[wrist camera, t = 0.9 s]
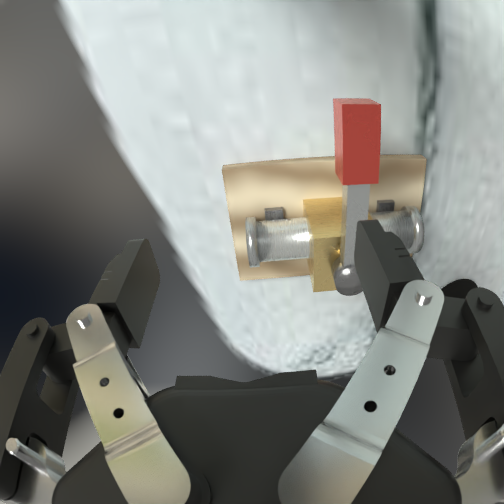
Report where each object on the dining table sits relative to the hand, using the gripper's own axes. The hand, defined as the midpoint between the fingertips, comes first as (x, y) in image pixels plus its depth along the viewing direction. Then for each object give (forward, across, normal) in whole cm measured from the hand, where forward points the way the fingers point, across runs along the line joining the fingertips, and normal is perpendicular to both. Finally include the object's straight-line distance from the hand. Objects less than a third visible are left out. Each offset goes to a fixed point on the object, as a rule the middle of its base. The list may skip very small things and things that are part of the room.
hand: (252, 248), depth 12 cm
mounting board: (+23, -8, +13) cm, 28 cm away
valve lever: (+14, -8, +6) cm, 17 cm away
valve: (+22, -8, +13) cm, 26 cm away
